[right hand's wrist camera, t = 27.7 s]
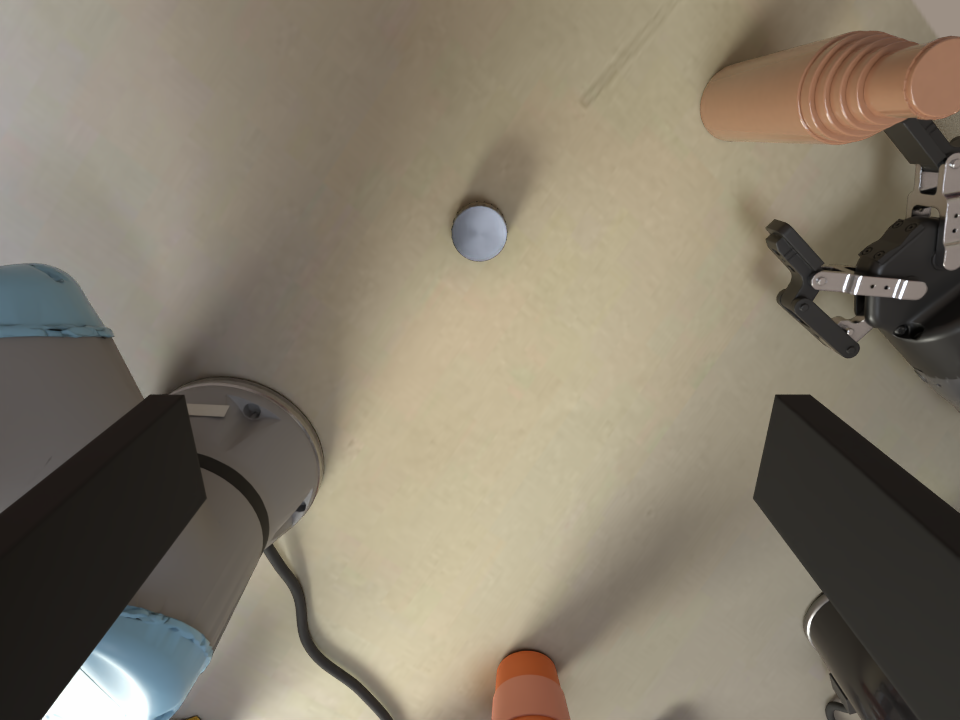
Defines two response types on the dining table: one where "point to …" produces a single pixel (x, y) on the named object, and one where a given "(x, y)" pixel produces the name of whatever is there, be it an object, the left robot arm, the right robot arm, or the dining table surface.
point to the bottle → (833, 90)
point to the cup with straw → (528, 689)
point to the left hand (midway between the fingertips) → (832, 172)
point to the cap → (479, 231)
